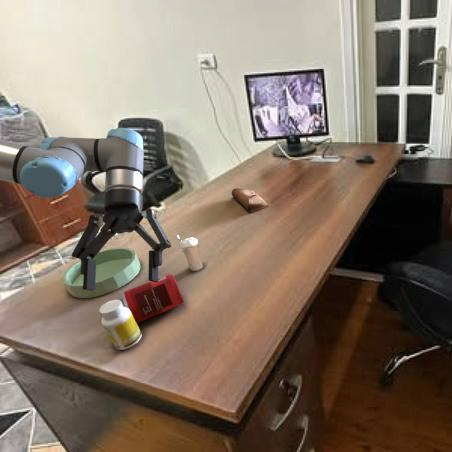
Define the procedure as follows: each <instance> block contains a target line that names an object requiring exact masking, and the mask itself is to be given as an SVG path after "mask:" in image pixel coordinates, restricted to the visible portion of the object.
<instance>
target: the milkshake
mask: <svg viewBox="0 0 452 452" xmlns="http://www.w3.org/2000/svg"><path fill="white" fill-rule="evenodd" d="M176 238H177V239H178V241H179V242H180V243H179V248H180V251H181V252H182V254H183V255H184V258H185V260H186V262H187V264H188V267H189V269H190V270H191V272H198V271H200V270H201V269H203V267H204V264H203V259H202V256H201V252H200V246H199V241H198V239H197V238H195V237H192V236H189V237H187V238H184V239H183V240H182V239H181V238H180V236H179V235H176Z"/></svg>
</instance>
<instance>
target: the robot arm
mask: <svg viewBox="0 0 452 452" xmlns="http://www.w3.org/2000/svg"><path fill="white" fill-rule="evenodd" d="M144 158H145V151H144V139H143V136H141V134H140V133H139V132H137V131H136V130H133V129H131V128H127V127H116V128H111V129H110V130H108V131H107V135H106V137H102V138H92V137H91V138H90V137H68V136H56V137H55V136H54V137H53V136H52V137H51V136H50V137H45V138H43V139H42V140H41V142H40V145H39V148H38V147H33V146H29V145H25V144H22V143H17V142H12V141H8V140H4V139H0V181H2V182H8V183H13V184H18V185H21V186H23V188H24V189H25V190H27V191H28V192H29V193H31V194H33V195H34V196H36V197H39V198H43V199H54V198H58V197H60V196H62V195H64V194H65V193H67V192H68V191H70V190H72V189H73V187H74V186H75V185H76V183H77V182H78V181H79V180H80V178H82V177H83V176H84V175H85V174H86V173H87V172H105V177H104V178H105V179H104V191H105V192H104V201H103V207H104V214H103V215H102V216H99V215H98V216H97V215H94V214H91V215H89V217H88V221H87V226H86V227H85V229H84V231H83V233H82V235H81V236H80V238H79V240H78V242H77V244H76V246H75V247H74V249H73V251H72V253H71V258H75V259H79V260H81V274H82V275H84V278H83V289H84V290H91V291H92V290H95V279H96V260H93V258H94V257H95V256H96V255H97V254H98V252H99V251H102V249H103V248H104V247H105V246H106V244H107V243H108V242H109V241H110V239H111V238H113V237H115V236H116V234H118V235H121V234H125V233H129V234H130V233H133V232H134V231H135V232H136V234H138V235H139V237H140V238H141V239H142V240H143V241H144V242H145V243H146V244H147V245H149V247H150V248H151V250H148V282H151V281H152V282H158V279H159V267H161V266H162V265H163V252H164V251H165V250H166V249H170V248H172V243H171V241H170V239H169V237H168V236H167V234H166V232H165V231H164V229H163V227H162V225H161V224H160V222H159V220H158V213H157V212H156V210H154V209H152V208H151V207H147V208H146V210H143V208H144V206H143V205H144V202H143V201H144V196H143V192H144ZM143 219H145V220H147V222H148V224H149V226H150V227H151V229H152V231H153V233H154V235H155V236H156V239H157V240H158V241H157V240H156V239H155V238H154V237H153V236H152V234H150V233H149V232H148V231H147V230H146V229H145V227H144V226H142V225H141V222H142V221H143Z"/></svg>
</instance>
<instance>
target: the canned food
mask: <svg viewBox="0 0 452 452" xmlns="http://www.w3.org/2000/svg"><path fill="white" fill-rule="evenodd" d="M121 300H122V304H123V307H126V308H128V309H129V310H130V311H131V313H132V315H133V317H134V319H135V321H136V323H137V324H139V323H141V322H144V321H146V320H148V319H150V318H152V317H155V316H157V315H160V314H162V313H164V312H167V311H169V310H171V309H174V308H176V307H178V306H181V305H182V304H184V302H185V301H184V298H183V296H182V293H181V291H180V288H179V286H178V283H177V281H176V278H175V276H174V274H167V275H164V276H162V277H158V282H152V281H148V282H146V283H142V284H141V285H138V286H135V287H133V288H129V289H128V290H125V291H123V292H121Z"/></svg>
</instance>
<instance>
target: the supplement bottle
mask: <svg viewBox="0 0 452 452" xmlns="http://www.w3.org/2000/svg"><path fill="white" fill-rule="evenodd" d="M99 313H100V315H101V316H102V317H101V319H100V320H101V321H100V322H101V323H100V324H101V326H102V327H103V330H104V331H105V333H106V334H107V336H108V338H109V339H110V341H111V344H112V345H113V347H114V348H115V349H116V350H118V351H122V350H127V349H130V348H132V347H134V346H136V344H138V343H139V341H140V340H141V339H142V335H143V334H142V331H141V329H140V327H139V324H138V323H136V321H135V319H134V317H133V315H132V313H131V311H130V310H129V309H128V308H126V307H125V306H124V303H123V301H121V300H120V299H113V300H109V301H107V302H105V303H104V304H102V305H101V306H100V308H99Z"/></svg>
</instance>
